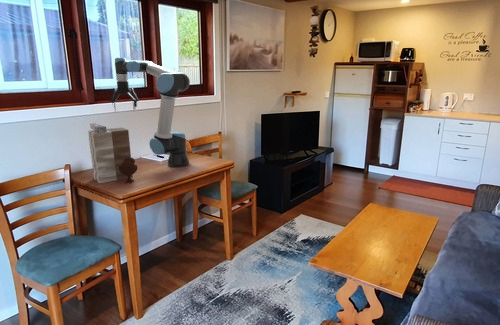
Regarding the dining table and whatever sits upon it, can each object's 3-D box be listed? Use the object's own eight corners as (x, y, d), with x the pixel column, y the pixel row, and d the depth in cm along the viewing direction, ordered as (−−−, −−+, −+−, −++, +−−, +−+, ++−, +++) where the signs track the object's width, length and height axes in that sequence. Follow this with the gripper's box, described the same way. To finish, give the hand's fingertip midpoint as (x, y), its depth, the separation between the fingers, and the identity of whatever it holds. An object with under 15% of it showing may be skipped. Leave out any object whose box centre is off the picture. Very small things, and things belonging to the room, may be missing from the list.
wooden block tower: (94, 178, 213) (88, 130, 205) (126, 172, 225) (121, 127, 217) (99, 183, 204) (93, 133, 196) (132, 177, 216) (128, 129, 208)
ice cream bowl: (122, 179, 211) (120, 155, 207) (140, 178, 212) (138, 155, 208) (117, 184, 201) (114, 160, 197) (136, 184, 202) (134, 159, 198)
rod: (88, 128, 213) (88, 123, 212) (97, 127, 216) (96, 123, 215) (97, 132, 198) (97, 127, 197) (106, 131, 201) (106, 126, 200)
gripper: (141, 80, 242) (144, 110, 248) (107, 80, 243) (110, 110, 249) (138, 81, 235) (140, 112, 241) (102, 81, 236) (105, 112, 241)
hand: (125, 111), depth 245 cm, fingers open, 13 cm apart
